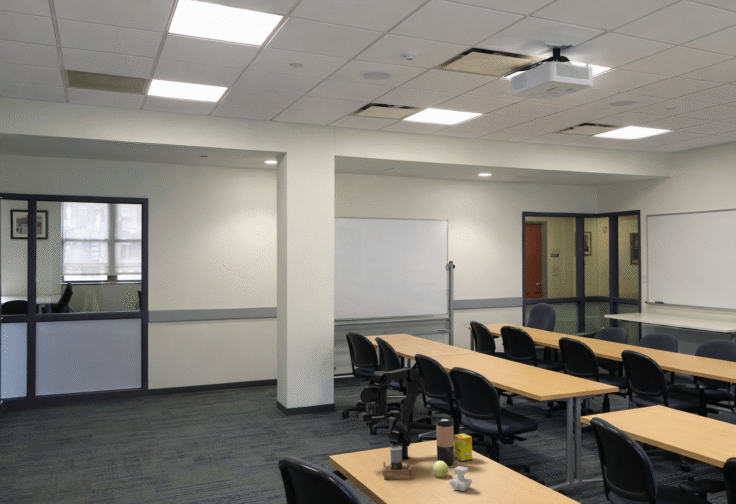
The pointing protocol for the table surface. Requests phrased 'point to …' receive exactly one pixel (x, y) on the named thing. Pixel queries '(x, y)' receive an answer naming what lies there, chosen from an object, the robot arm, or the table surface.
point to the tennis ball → (440, 468)
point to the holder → (397, 472)
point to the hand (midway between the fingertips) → (380, 435)
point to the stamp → (460, 479)
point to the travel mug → (445, 440)
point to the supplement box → (463, 447)
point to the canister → (396, 457)
